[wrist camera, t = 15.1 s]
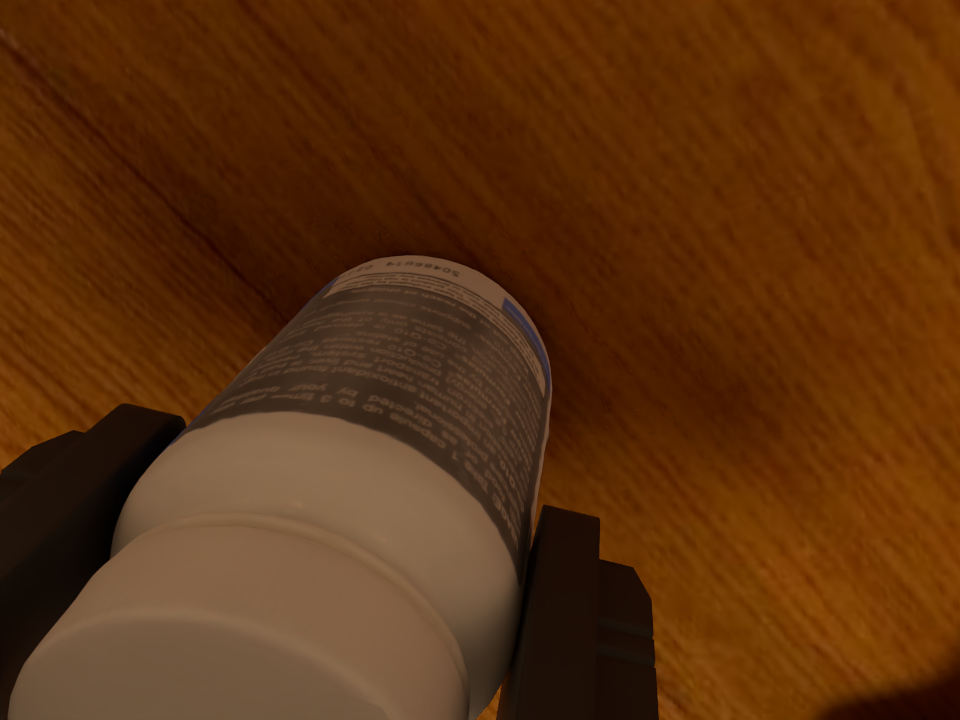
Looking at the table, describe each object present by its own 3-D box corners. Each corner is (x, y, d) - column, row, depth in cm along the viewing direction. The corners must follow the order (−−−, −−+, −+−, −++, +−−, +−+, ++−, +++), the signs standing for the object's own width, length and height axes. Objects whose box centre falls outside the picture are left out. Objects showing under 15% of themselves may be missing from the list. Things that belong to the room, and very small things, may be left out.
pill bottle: (278, 250, 14) (-123, 552, 6) (553, 248, 13) (472, 586, 6) (314, 485, 16) (40, 933, 8) (556, 495, 15) (499, 996, 8)
